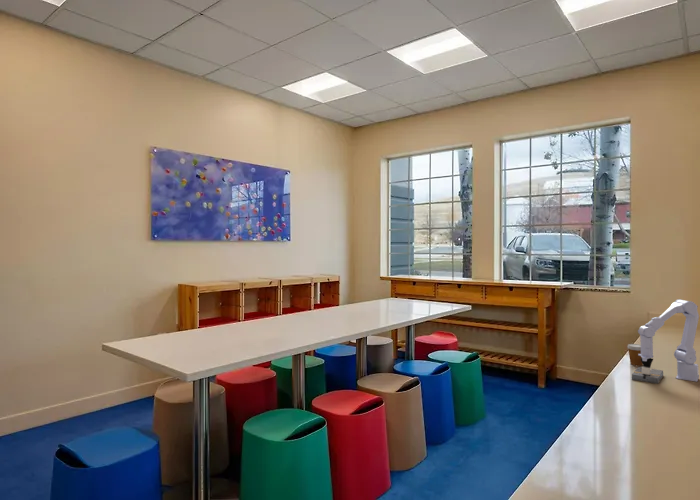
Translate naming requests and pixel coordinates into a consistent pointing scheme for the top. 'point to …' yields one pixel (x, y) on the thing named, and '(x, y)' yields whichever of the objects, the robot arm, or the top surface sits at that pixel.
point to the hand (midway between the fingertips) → (647, 371)
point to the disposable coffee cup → (635, 354)
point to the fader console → (651, 378)
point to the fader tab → (646, 370)
